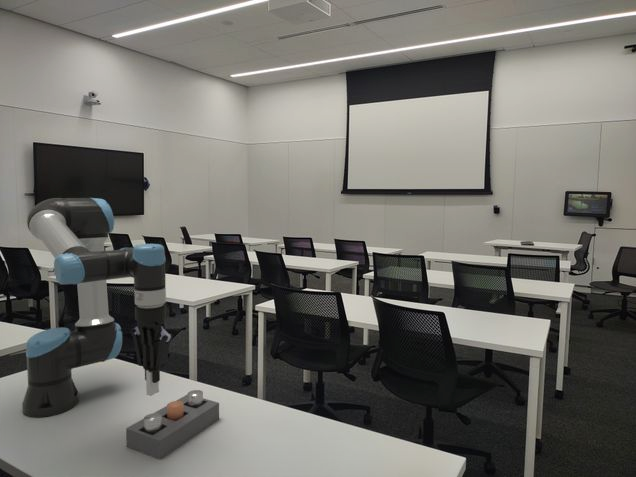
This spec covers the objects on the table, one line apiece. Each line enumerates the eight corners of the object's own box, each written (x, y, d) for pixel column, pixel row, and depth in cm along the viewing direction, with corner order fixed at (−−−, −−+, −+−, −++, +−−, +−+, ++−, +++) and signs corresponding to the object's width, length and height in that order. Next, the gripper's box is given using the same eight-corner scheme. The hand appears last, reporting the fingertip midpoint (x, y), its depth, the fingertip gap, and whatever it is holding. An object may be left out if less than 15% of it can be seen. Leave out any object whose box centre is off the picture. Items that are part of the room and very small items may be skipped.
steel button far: (184, 409, 131) (184, 394, 130) (194, 403, 135) (194, 388, 134) (195, 412, 129) (195, 398, 128) (206, 406, 133) (206, 392, 132)
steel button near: (140, 435, 117) (140, 418, 116) (153, 427, 121) (153, 411, 120) (152, 439, 115) (152, 423, 114) (165, 431, 119) (165, 415, 118)
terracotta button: (163, 421, 124) (163, 406, 123) (175, 414, 128) (175, 399, 127) (175, 425, 122) (175, 409, 121) (187, 418, 126) (186, 403, 125)
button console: (126, 446, 118) (126, 428, 117) (188, 409, 138) (188, 393, 137) (159, 459, 112) (159, 440, 112) (219, 418, 133) (219, 402, 132)
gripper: (120, 304, 114) (123, 393, 116) (157, 311, 108) (160, 404, 110) (144, 298, 120) (146, 382, 122) (180, 304, 114) (182, 392, 117)
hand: (152, 393), depth 116 cm, fingers closed
